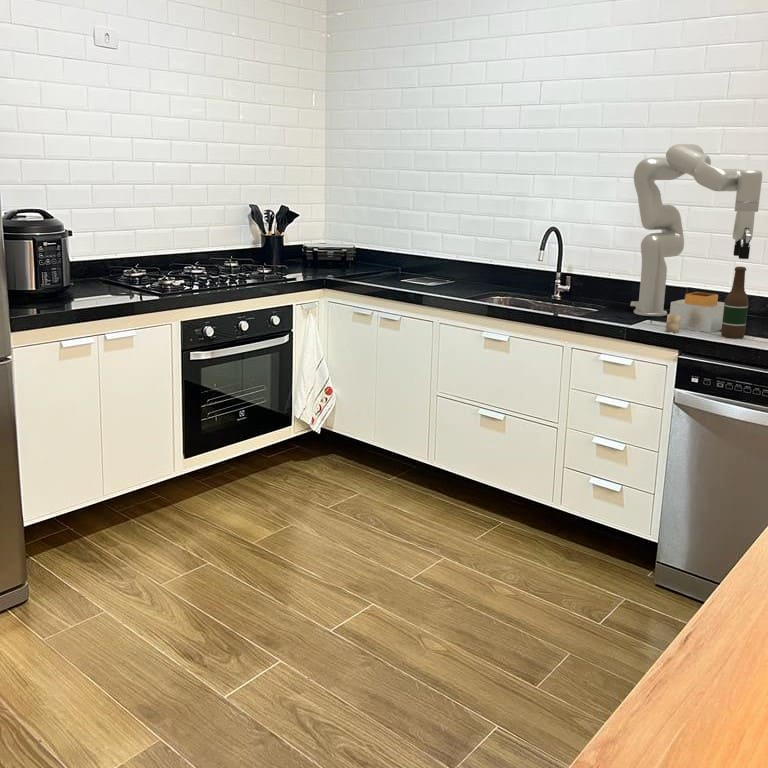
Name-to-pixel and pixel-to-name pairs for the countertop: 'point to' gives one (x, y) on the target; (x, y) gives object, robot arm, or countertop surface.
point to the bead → (673, 323)
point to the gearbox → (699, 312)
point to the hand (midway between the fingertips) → (740, 257)
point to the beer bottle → (735, 307)
